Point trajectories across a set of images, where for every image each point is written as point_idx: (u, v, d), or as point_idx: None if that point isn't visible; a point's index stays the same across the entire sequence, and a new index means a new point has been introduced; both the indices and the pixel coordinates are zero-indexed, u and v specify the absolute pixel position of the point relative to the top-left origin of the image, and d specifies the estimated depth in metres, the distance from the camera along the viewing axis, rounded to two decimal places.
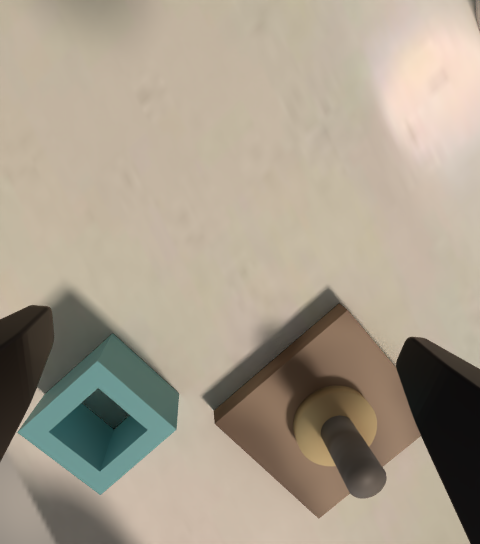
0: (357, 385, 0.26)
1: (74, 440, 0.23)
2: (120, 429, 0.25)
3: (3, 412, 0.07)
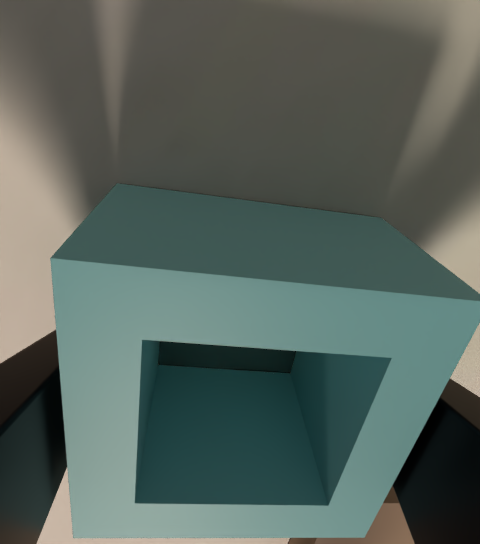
0: None
1: (144, 386, 0.07)
2: (187, 388, 0.10)
3: None
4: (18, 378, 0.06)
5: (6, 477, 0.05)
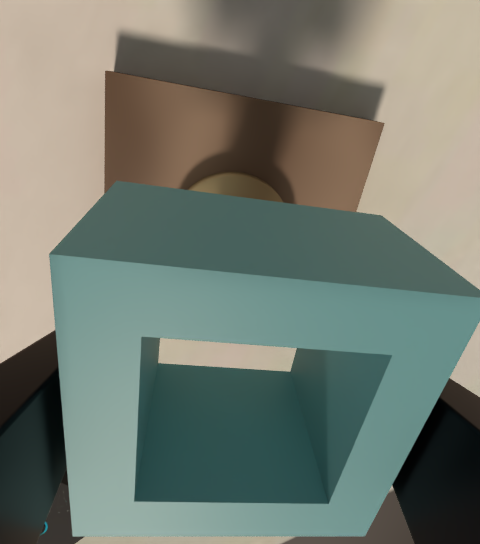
0: None
1: (144, 384, 0.07)
2: (187, 387, 0.10)
3: None
4: (18, 378, 0.06)
5: (6, 477, 0.05)
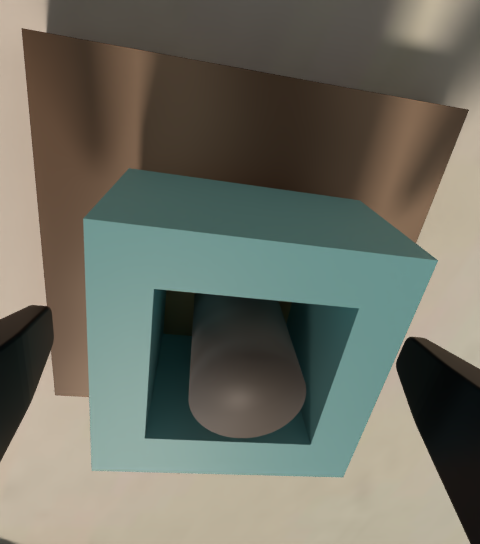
0: None
1: (154, 337, 0.08)
2: (189, 353, 0.11)
3: (3, 412, 0.07)
4: None
5: None
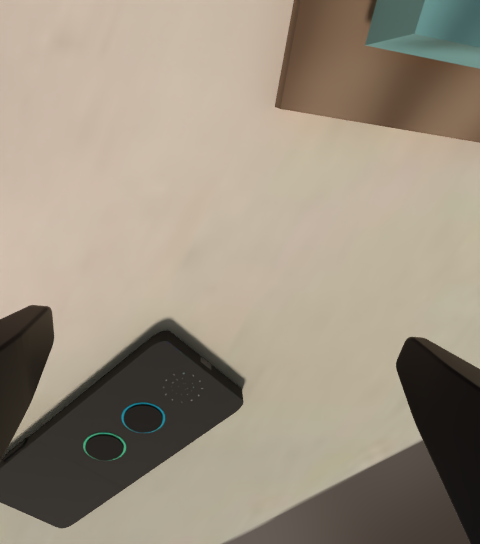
0: None
1: None
2: None
3: (3, 412, 0.07)
4: None
5: None
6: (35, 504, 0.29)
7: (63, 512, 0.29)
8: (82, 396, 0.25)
